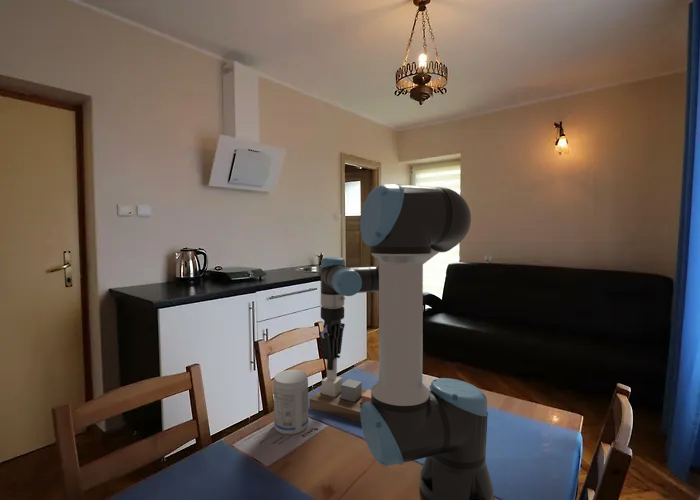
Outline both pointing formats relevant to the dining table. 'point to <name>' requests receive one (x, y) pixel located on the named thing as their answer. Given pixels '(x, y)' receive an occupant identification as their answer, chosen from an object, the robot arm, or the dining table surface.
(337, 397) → the wooden board
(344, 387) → the gray cube
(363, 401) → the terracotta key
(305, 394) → the supplement tub
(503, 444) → the dining table surface
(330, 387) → the beige cube
